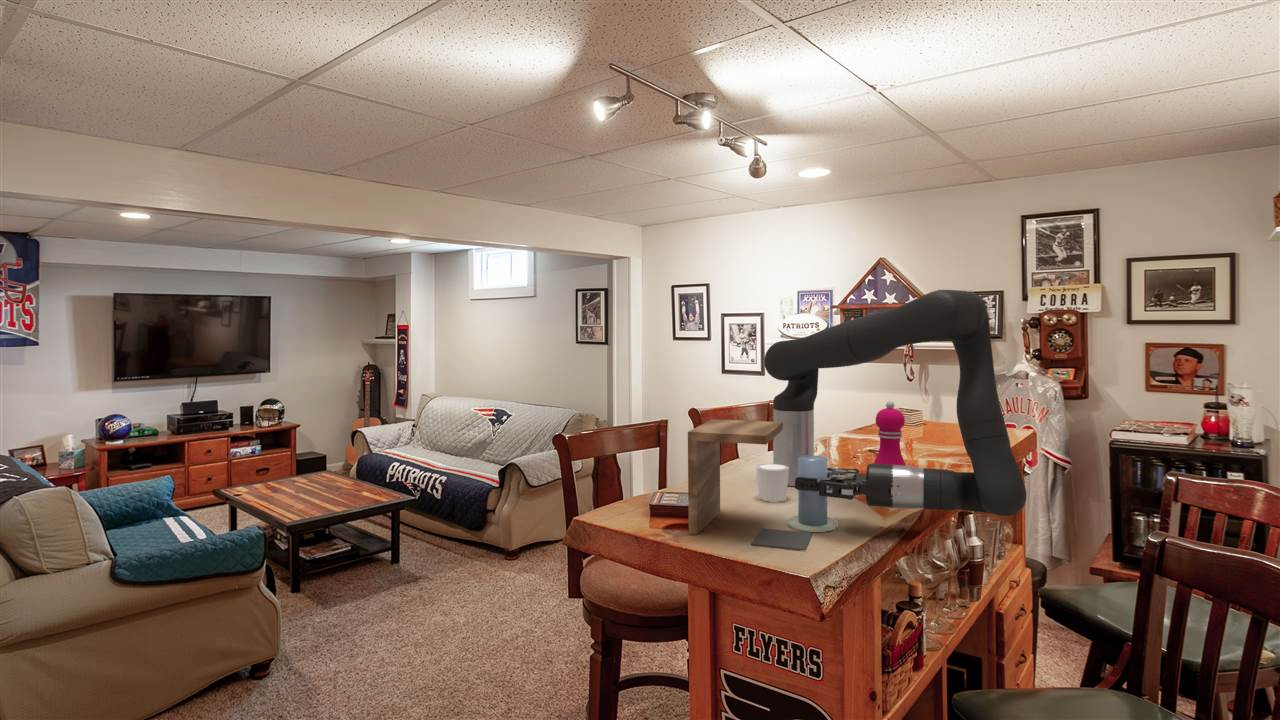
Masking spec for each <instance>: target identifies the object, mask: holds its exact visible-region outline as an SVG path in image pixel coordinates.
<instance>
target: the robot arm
mask: <svg viewBox="0 0 1280 720" xmlns="http://www.w3.org/2000/svg"><path fill="white" fill-rule="evenodd" d="M991 336H992V335H991V326H990V319H989V313H988V308H987V306H986V303H985V301H984V300H983V298H982V297H981V296H979V295H978V294H977V293H975V292H972V291H967V290H960V289H959V290H957V289H938V290H934V291H930V292H927V293H925V294H924V295H921V296H920V297H917V298H915V299H913V300H911V301H908V302H906V303H904V304H902V305H900V306H897V307H894V308H892V309H888V310H883V311H879V312H875V313H872V314H866V315H863V316H859V317H856V318H854V319H850V320H847V321H844V322H841V323H839V324H836V325H833V326H830V327H828V328H825V329H822V330H820V331H816V332H814V333H813V334H810V335H807V336H803V337H800V338H794V339H789V340H781V341H777V342H775V343H773V344H772V345H771V346H769V348H768V349H767V351H766V353H765V355H764V359H763V365H764V368H765V370H766V372H767V373H768V375H769V376H771V377H772V378H773V379H775V380H778V381H786V382H787V381H788V382H787V386H786V387H785V389H783V390H782V391H781V392H780V393H779V394H776V395H775V397H774V398H773V401H772V403H773V407H772V408H773V410H772V411H773V415H772V416H773V419H772V420H773V421H772V422H783V430H782V431H781V432H780V433H779V434H778V435H777V436H775V437H774V438H773V439H772V440H773V442H772V446H773V447H772V448H773V449H772V453H773V454H772V456H773V457H772V459H773V460H772V462H773V463H772V464H781V465H786V466H788V467H789V474H788V485H787V487H794V488H795V490H796V491H798V490H806V491H816V490H817V493H819V495H820V496H826V497H827V498H828V497H829V498H836V499H843V500H849V501H850V500H854V497H856V495H858V496H859V495H862V496H863V495H865V502H866V505H867V506H868V507H880V508H891V509H903V510H905V509H906V510H915V509H918V510H933V511H934V510H935V511H956V510H957V511H958V510H959V511H960V510H961V511H965V512H966V511H967V512H974V513H975V512H977V513H985V514H992V515H996V516H1001V517H1009V516H1013V515H1016V514H1018V513H1019V512H1021V510H1023V509H1024V506H1026V505H1025V504H1026V503H1027V495H1028V494H1027V490H1026V485H1025V481H1024V479H1023V476H1022V473H1021V470H1020V467H1019V465H1018V463H1017V460H1016V458H1015V455H1014V453H1013V450H1012V447H1011V441H1010V436H1009V433H1008V430H1007V424H1006V422H1005V417H1004V414H1003V411H1002V406H1001V402H1000V399H999V395H998V388H997V381H996V376H995V367H994V358H993V349H992V348H993V347H992V337H991ZM931 342H932V343H944V342H945V343H946V342H947V343H948V342H949V343H952V345H953V348H954V350H955V352H956V353H955V354H956V356H957V360H958V366H959V382H958V391H957V394H956V395H957V397H956V417H957V418H956V419H957V423H958V427H959V430H960V434H961V438H962V441H963V445H964V449H965V451H966V454H967V456H968V457H969V459H970V461H971V465H972V470H973V472H971V471H969V472H968V471H967V472H966V471H965V472H964V471H963V472H962V471H961V472H960V471H954V470H950V469H943V468H941V469H940V468H930V467H929V468H927V467H918V466H912V465H906V466H904V465H887V464H874V463H868V464H867V466H866V471H865V472H866V474H865V473H860V472H859V469H858V468H840V467H839V468H835V467H834V468H833V467H827V478H805V477H798V457H800V456H805V455H815V421H814V419H815V410H814V409H815V402H816V399H817V396H818V386H819V385H818V383H819V372H820V371H819V369H832V368H833V369H834V368H843V367H852V366H857V365H861V364H865V363H870V362H875V361H876V360H879V359H882V358H884V357H885V356H887V355H888V354H890V353H891V352H892V351H894V350H896V349H898V348H901V347H904V346H909V345H910V346H911V345H915V344H921V343H923V344H924V343H931ZM826 485H827V489H826Z"/></svg>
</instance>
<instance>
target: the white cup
mask: <svg viewBox="0 0 1280 720" xmlns="http://www.w3.org/2000/svg"><path fill="white" fill-rule="evenodd" d="M755 467H756V479H757V487H758V498H760V499H762V500H764V501H763V502H765V501H769V502H768V503H780V502H779V501H783V502H785V501H786V500H787V493H788V486H787V485H788V474H789V467H788V466H786V465H781V464H773V463H762V464H757V466H755ZM760 499H759V500H760ZM762 500H761V501H762ZM784 500H785V501H784Z"/></svg>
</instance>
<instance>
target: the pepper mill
mask: <svg viewBox="0 0 1280 720" xmlns="http://www.w3.org/2000/svg"><path fill="white" fill-rule="evenodd" d="M885 407H886V408H883V409H880V410H879V411H878V412H877V413H876V416H875V424H876V426H877V428H878V430H877V433H878V434H877V437H879V449H878V453H877V455H876V457H875V459H874V462H873V464H887V465H904V466H907V464H906V462H905V460H904V457H903V455H902V451H901V443H900V442H901V438H903V435H902V434H903V431H902V428H903V427H904V426H905V424H906V423H905V422H906V421H905V415H904V414H903V412H902V411H901V410H899V409H897V408H895V403H894V401H890V400H888V401H887V402H886V403H885Z"/></svg>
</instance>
